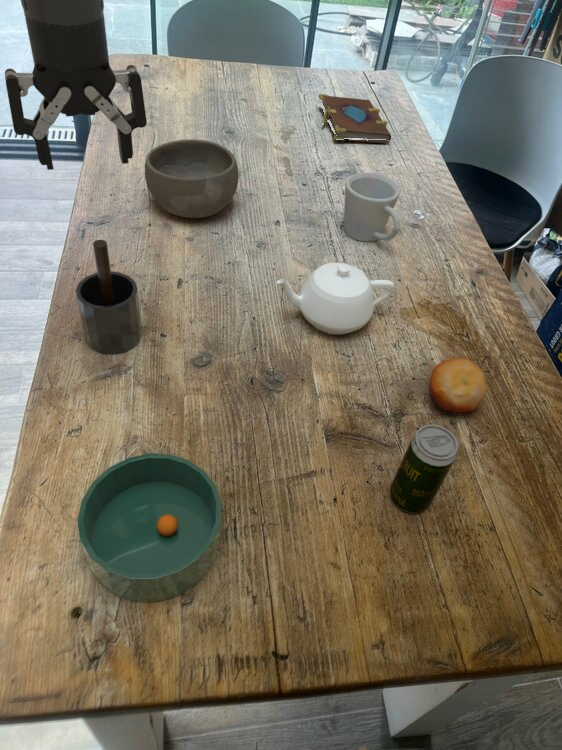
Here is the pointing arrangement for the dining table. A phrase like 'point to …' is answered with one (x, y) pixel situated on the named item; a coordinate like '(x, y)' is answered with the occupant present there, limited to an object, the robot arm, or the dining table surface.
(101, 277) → the stick
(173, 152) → the bowl
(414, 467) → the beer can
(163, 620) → the dining table surface
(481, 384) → the fruit
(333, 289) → the teapot
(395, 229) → the mug
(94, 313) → the crock
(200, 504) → the mixing bowl
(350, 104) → the book
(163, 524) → the ball
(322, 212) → the dining table surface
